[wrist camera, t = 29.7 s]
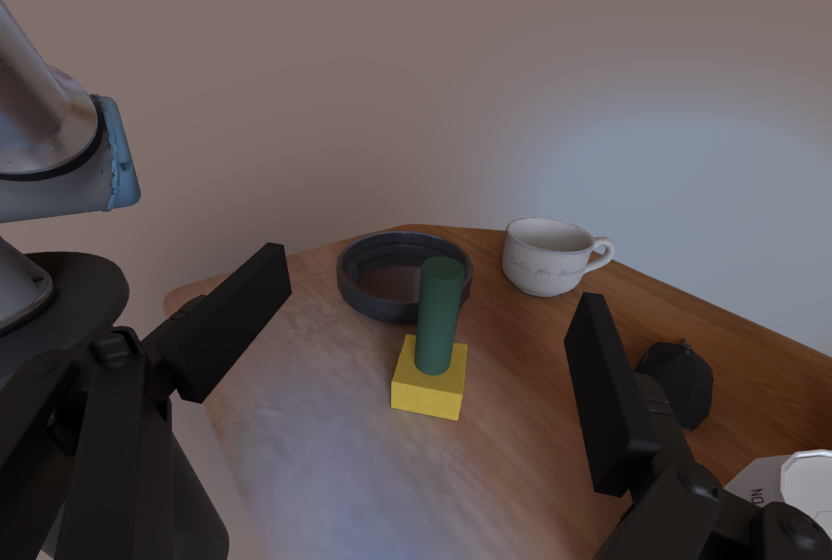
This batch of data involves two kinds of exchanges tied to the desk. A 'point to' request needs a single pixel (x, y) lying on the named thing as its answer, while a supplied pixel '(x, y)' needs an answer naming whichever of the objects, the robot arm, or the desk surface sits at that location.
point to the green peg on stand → (433, 346)
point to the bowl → (393, 273)
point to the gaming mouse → (680, 380)
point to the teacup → (550, 255)
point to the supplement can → (790, 483)
